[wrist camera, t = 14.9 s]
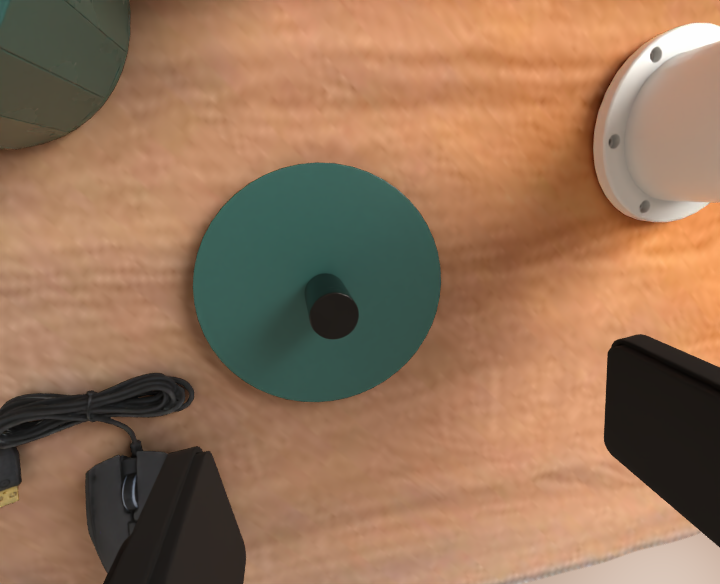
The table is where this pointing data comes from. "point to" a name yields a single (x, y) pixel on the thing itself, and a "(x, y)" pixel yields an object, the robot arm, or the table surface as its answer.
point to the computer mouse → (109, 478)
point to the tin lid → (316, 282)
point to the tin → (57, 65)
